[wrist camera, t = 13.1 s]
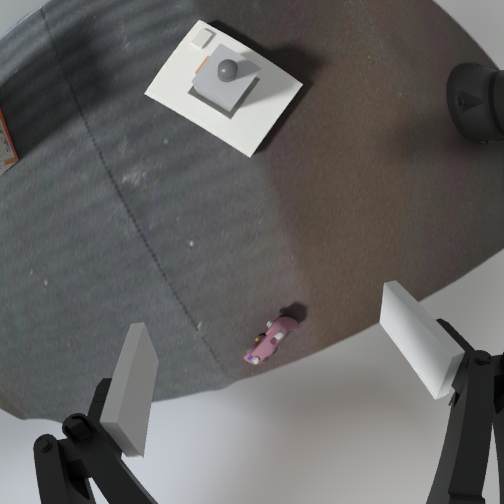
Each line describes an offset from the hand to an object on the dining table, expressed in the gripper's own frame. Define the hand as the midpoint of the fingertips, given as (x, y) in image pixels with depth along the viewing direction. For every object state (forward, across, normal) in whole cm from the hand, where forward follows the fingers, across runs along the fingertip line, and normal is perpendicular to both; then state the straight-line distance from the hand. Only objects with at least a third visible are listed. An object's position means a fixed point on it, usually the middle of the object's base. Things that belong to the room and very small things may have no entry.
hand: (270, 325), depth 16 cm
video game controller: (+29, +2, -23) cm, 37 cm away
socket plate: (+29, 0, +16) cm, 33 cm away
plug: (+28, 0, +16) cm, 32 cm away
